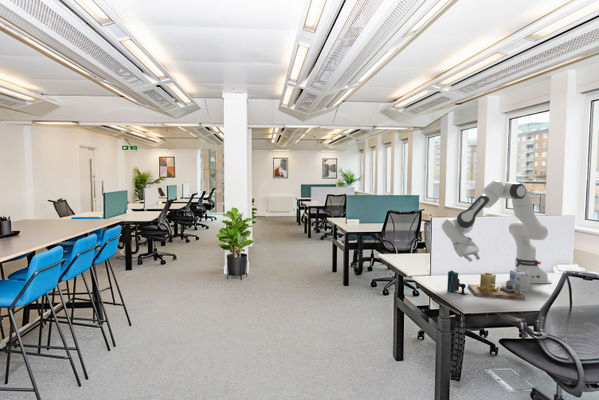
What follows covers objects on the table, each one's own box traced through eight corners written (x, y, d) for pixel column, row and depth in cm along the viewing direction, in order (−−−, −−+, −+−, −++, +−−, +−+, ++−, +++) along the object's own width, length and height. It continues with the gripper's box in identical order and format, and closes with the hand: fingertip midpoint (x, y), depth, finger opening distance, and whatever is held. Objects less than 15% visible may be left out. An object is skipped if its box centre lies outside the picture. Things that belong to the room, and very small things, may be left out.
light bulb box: (508, 286, 240) (509, 269, 240) (518, 286, 241) (519, 269, 240) (519, 291, 230) (520, 273, 229) (529, 291, 230) (531, 274, 229)
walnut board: (513, 290, 230) (514, 277, 230) (524, 300, 213) (525, 286, 212) (467, 287, 236) (468, 274, 235) (475, 296, 218) (475, 282, 218)
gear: (515, 289, 227) (516, 278, 227) (521, 293, 218) (522, 282, 218) (497, 287, 229) (498, 277, 229) (502, 292, 220) (503, 281, 220)
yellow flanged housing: (482, 285, 234) (483, 271, 233) (500, 289, 225) (501, 274, 224) (474, 288, 227) (474, 273, 226) (492, 292, 218) (493, 277, 218)
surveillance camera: (464, 275, 217) (447, 271, 225) (463, 295, 218) (446, 291, 225) (468, 273, 221) (452, 270, 229) (467, 294, 222) (451, 290, 229)
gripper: (455, 240, 230) (470, 259, 223) (472, 237, 243) (486, 255, 236) (448, 246, 234) (462, 265, 227) (465, 243, 247) (479, 261, 240)
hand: (475, 260), depth 231 cm, fingers open, 8 cm apart
